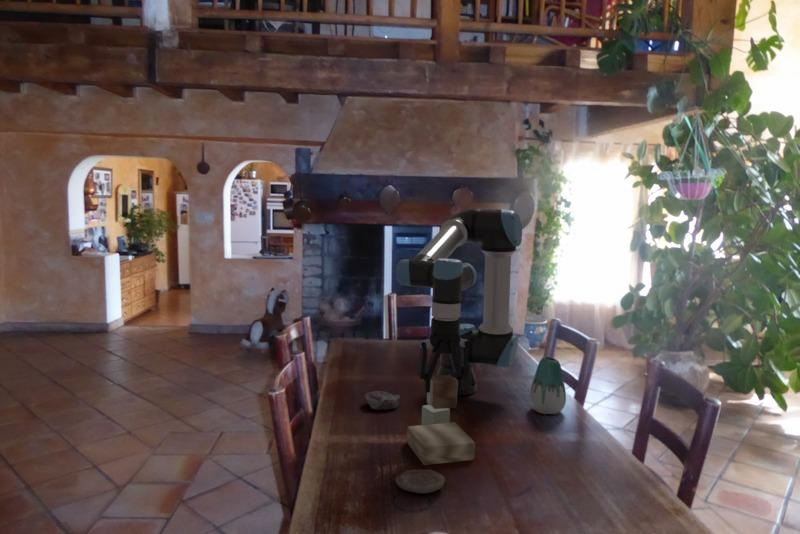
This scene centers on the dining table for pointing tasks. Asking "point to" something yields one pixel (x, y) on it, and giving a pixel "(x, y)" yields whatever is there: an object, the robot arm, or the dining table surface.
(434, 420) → the grey green cube
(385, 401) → the rock
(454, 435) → the plinth
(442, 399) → the walnut block
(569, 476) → the dining table surface
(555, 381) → the vase
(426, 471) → the fossil
